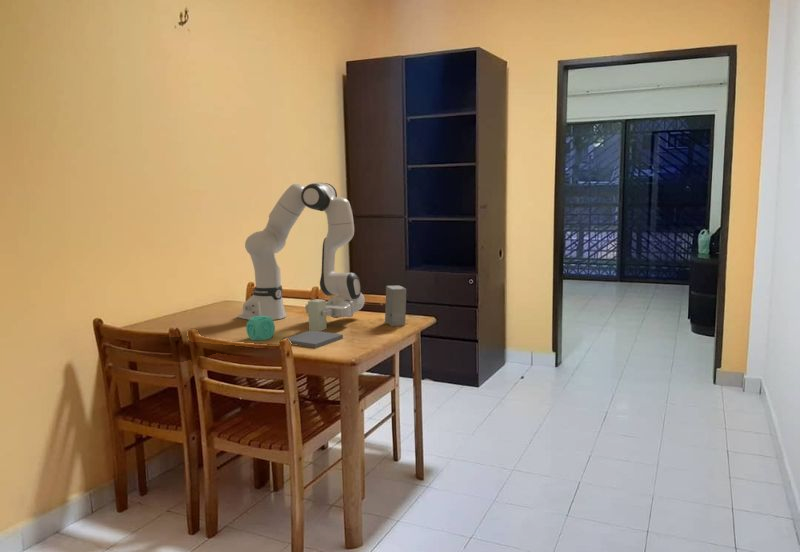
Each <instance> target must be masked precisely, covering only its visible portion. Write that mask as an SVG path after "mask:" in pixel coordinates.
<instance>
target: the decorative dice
mask: <svg viewBox="0 0 800 552" xmlns="http://www.w3.org/2000/svg"><path fill="white" fill-rule="evenodd" d="M246 322H247V323H246V325H245V326H246V327H245V329H246V334H247V337H248V338H249V339H250V340H251V341H255V342H256V341H257V342H258V341H267V339H268V340H271V338H273V336H274V335H275V330H276V328H275V327H276V325H275V321H274V320H272V319H271V318H270V317H269V316H256V317H252V318H250V319H249V320H247V321H246Z"/></svg>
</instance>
